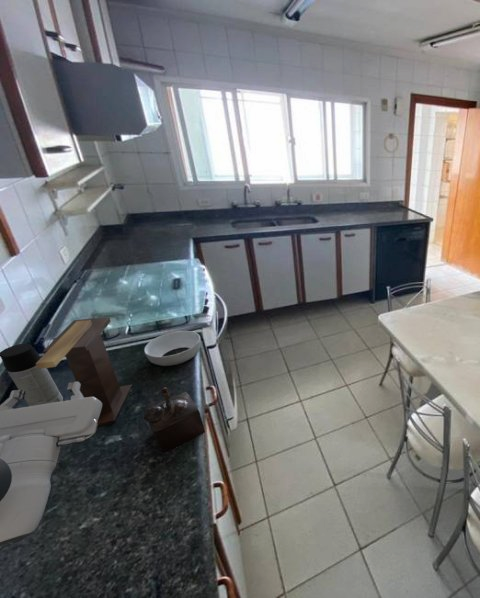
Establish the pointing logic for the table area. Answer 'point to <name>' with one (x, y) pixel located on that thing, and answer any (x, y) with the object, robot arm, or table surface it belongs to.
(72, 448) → the table surface
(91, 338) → the walnut stand
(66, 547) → the table surface
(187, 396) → the dark brown boxy piece
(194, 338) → the cereal bowl
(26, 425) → the robot arm
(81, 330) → the wooden plank
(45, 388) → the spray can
